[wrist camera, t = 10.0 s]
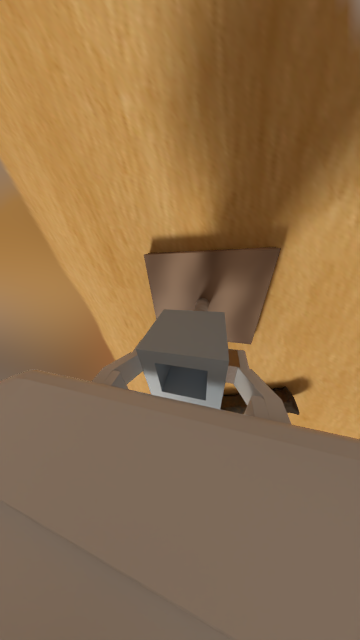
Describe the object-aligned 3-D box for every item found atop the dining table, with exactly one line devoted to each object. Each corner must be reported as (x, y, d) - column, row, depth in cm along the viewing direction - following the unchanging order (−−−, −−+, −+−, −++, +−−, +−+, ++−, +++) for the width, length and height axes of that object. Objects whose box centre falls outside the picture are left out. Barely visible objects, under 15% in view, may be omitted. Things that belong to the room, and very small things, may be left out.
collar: (224, 312, 11) (229, 361, 6) (219, 356, 13) (219, 410, 9) (163, 309, 12) (135, 349, 8) (170, 350, 15) (151, 396, 10)
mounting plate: (275, 247, 13) (301, 253, 9) (249, 337, 20) (257, 366, 16) (149, 253, 17) (125, 260, 12) (162, 328, 23) (149, 350, 19)
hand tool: (287, 382, 23) (300, 410, 20) (292, 394, 25) (305, 423, 21) (195, 391, 32) (192, 412, 29) (203, 400, 34) (201, 421, 30)
